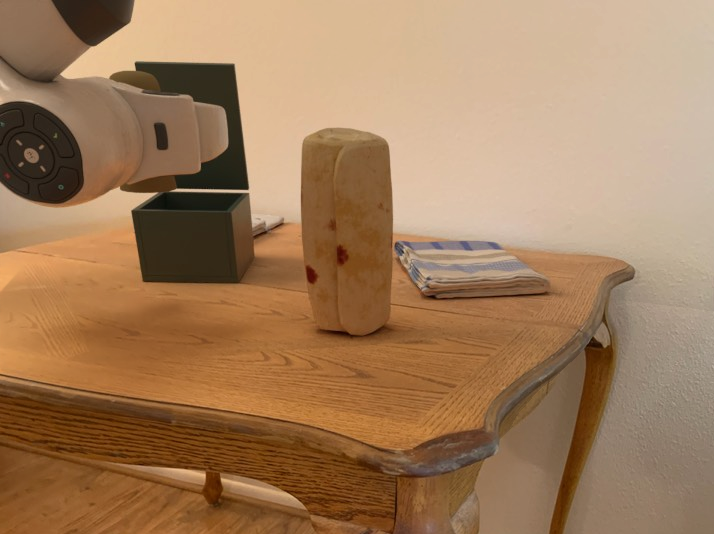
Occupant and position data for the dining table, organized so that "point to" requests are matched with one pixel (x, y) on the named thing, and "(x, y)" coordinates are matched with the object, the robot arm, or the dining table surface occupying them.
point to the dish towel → (467, 269)
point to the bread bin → (194, 236)
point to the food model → (347, 228)
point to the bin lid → (216, 89)
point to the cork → (150, 83)
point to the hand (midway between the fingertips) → (141, 120)
